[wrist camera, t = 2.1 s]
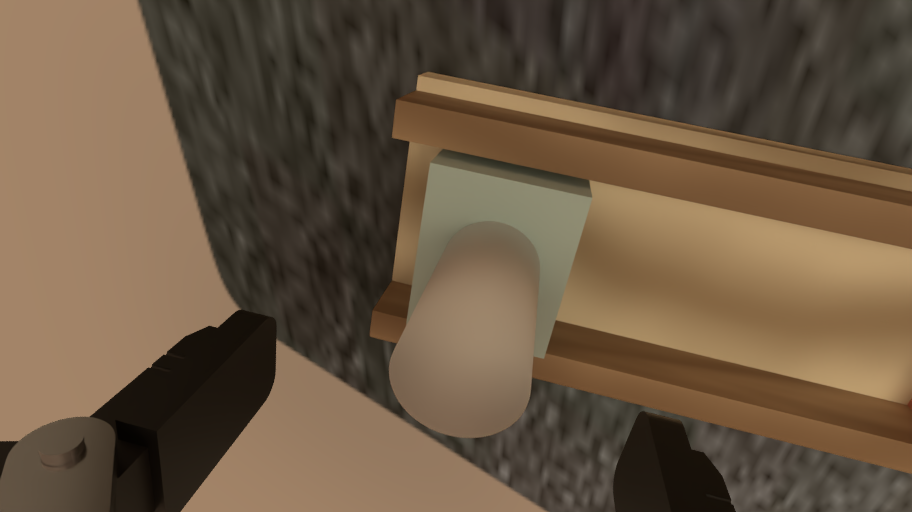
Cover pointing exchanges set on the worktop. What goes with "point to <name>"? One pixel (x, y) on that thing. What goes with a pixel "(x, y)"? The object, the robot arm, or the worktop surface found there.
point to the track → (700, 266)
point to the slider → (484, 290)
